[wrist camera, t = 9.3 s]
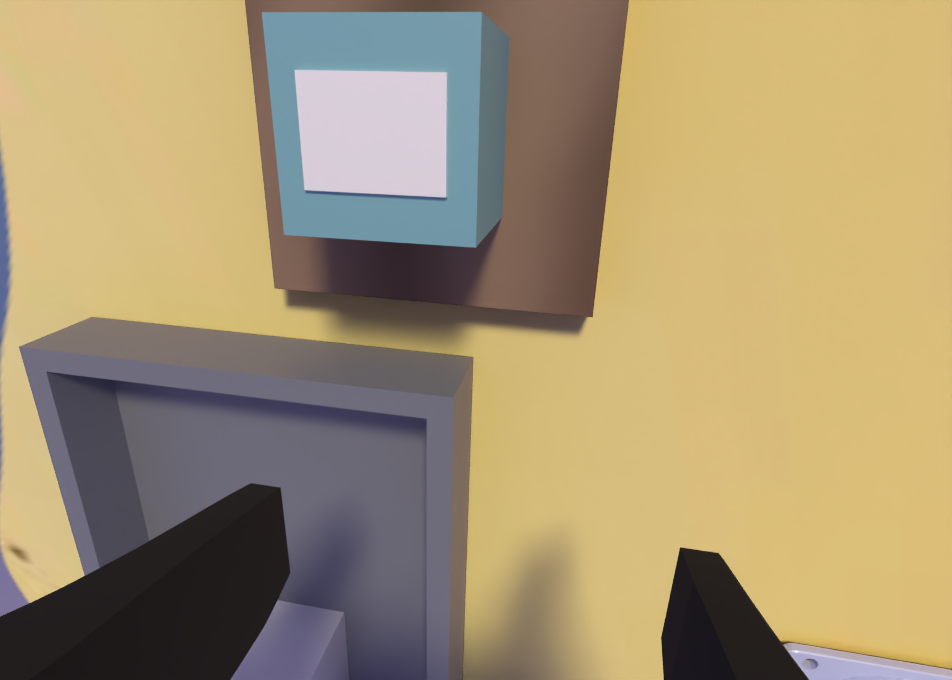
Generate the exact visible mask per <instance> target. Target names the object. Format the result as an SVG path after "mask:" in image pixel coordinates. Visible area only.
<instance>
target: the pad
mask: <svg viewBox="0 0 952 680" xmlns="http://www.w3.org/2000/svg"><path fill="white" fill-rule="evenodd" d="M628 3H629V0H245V5H246V15H247V25H248V35H249V44H250V54H251V64H252V73H253V83H254V93H255V103H256V112H257V122H258V132H259V141H260V151H261V161H262V171H263V180H264V190H265V200H266V209H267V219H268V229H269V239H270V248H271V258H272V268H273V277H274V287H275V288H277V289H288V290H299V291H310V292H321V293H332V294H343V295H354V296H365V297H376V298H387V299H398V300H409V301H420V302H431V303H442V304H453V305H464V306H476V307H487V308H498V309H509V310H520V311H531V312H542V313H553V314H564V315H575V316H586V317H593V308H594V299H595V291H596V282H597V273H598V264H599V256H600V247H601V238H602V230H603V221H604V212H605V203H606V195H607V186H608V177H609V169H610V160H611V151H612V142H613V134H614V125H615V116H616V108H617V99H618V90H619V81H620V73H621V64H622V55H623V47H624V38H625V29H626V20H627V12H628ZM262 12H482V13H484V14H485V15H486V16H487V17H488V18H489V19H490V20H491V21H492V22H493V23H494V24H495V25H497V26H498V27H499V28H500V29H501V30H502V31H503V32H504V33H505V34H506V35H507V36H508V37H509V38H510V39H509V63H508V87H507V111H506V135H505V159H504V184H503V208H502V218H501V219H500V220H499V221H498V223H497V224H496V225H495V226H494V227H493V228H492V230H491V231H490V232H489V233H488V234H487V235H486V237H485V238H484V239H483V240H482V241H481V242H480V243H479V245H478V246H477V247H476V248H474V247H459V246H443V245H428V244H413V243H398V242H383V241H368V240H353V239H338V238H323V237H308V236H293V235H284V229H283V219H282V209H281V199H280V189H279V179H278V169H277V159H276V149H275V139H274V129H273V119H272V109H271V99H270V89H269V79H268V69H267V59H266V49H265V39H264V29H263V19H262Z"/></svg>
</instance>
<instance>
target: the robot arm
mask: <svg viewBox="0 0 952 680" xmlns="http://www.w3.org/2000/svg"><path fill="white" fill-rule="evenodd" d="M289 575H290V564H289V555H288V547H287V538H286V529H285V520H284V512H283V503H282V494H281V488H280V487H274V486H267V485H260V484H254V483H250V484H248V485H246V486H244V487H243V488H241V489H239V490H237V491H235V492H233V493H231V494H230V495H228V496H226V497H224V498H223V499H221V500H219V501H217V502H216V503H214V504H212V505H210V506H209V507H207V508H205V509H204V510H202V511H200V512H198V513H197V514H195V515H193V516H192V517H190V518H188V519H186V520H185V521H183V522H181V523H180V524H178V525H176V526H174V527H173V528H171V529H169V530H167V531H166V532H164V533H162V534H160V535H159V536H157V537H155V538H154V539H152V540H150V541H148V542H147V543H145V544H143V545H141V546H140V547H138V548H136V549H134V550H132V551H130V552H129V553H127V554H125V555H123V556H121V557H119V558H117V559H116V560H114V561H112V562H110V563H108V564H106V565H104V566H102V567H101V568H99V569H97V570H95V571H93V572H91V573H89V574H87V575H86V576H84V577H82V578H80V579H78V580H76V581H74V582H72V583H70V584H68V585H66V586H64V587H62V588H60V589H58V590H56V591H54V592H52V593H50V594H48V595H46V596H44V597H42V598H40V599H38V600H36V601H34V602H32V603H29V604H27V605H25V606H23V607H21V608H18V609H16V610H14V611H12V612H10V613H7V614H5V615H3V616H1V617H0V680H231V678H232V677H233V675H234V674H235V672H236V670H237V669H238V667H239V666H240V664H241V663H242V661H243V659H244V658H245V656H246V655H247V653H248V652H249V650H250V648H251V647H252V645H253V644H254V642H255V641H256V639H257V637H258V636H259V634H260V633H261V631H262V629H263V628H264V626H265V624H266V622H267V620H268V618H269V617H270V615H271V613H272V611H273V609H274V607H275V605H276V603H277V601H278V598H279V596H280V594H281V592H282V590H283V588H284V586H285V583H286V581H287V579H288V577H289ZM661 640H662V656H663V673H664V680H952V670H950V669H944V668H938V667H932V666H926V665H921V664H915V663H909V662H903V661H897V660H891V659H885V658H879V657H874V656H868V655H862V654H856V653H850V652H844V651H838V650H833V649H827V648H821V647H815V646H809V645H803V644H797V643H787V644H784V645H783V644H782V643H781V642H780V640H779V639H778V637H777V636H776V635H775V633H774V632H773V630H772V629H771V628H770V626H769V625H768V623H767V622H766V621H765V619H764V618H763V616H762V615H761V613H760V612H759V611H758V609H757V608H756V606H755V605H754V603H753V602H752V601H751V599H750V598H749V596H748V595H747V593H746V592H745V590H744V589H743V587H742V586H741V584H740V583H739V582H738V580H737V579H736V577H735V576H734V574H733V573H732V571H731V570H730V568H729V567H728V565H727V564H726V562H725V561H724V559H723V558H722V557H721V556H720V554H719V553H714V552H707V551H700V550H694V549H687V548H680V551H679V555H678V560H677V565H676V570H675V575H674V579H673V584H672V589H671V594H670V599H669V603H668V608H667V613H666V618H665V623H664V627H663V632H662V637H661ZM806 659H810V660H806Z"/></svg>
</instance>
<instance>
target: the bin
mask: <svg viewBox="0 0 952 680" xmlns="http://www.w3.org/2000/svg"><path fill="white" fill-rule="evenodd" d="M19 348H20V352H21V355H22V359H23V362H24V366H25V369H26V373H27V376H28V380H29V383H30V387H31V390H32V394H33V397H34V401H35V404H36V408H37V411H38V415H39V418H40V421H41V425H42V428H43V432H44V435H45V439H46V442H47V446H48V449H49V453H50V456H51V460H52V463H53V467H54V470H55V474H56V477H57V481H58V484H59V488H60V491H61V494H62V498H63V501H64V505H65V508H66V512H67V515H68V519H69V522H70V526H71V529H72V533H73V536H74V540H75V543H76V547H77V550H78V554H79V557H80V561H81V564H82V567H83V571H84V574H85V576H86V575H87V574H89V573H91V572H93V571H95V570H97V569H99V568H101V567H102V566H104V565H106V564H108V563H110V562H112V561H114V560H116V559H117V558H119V557H121V556H123V555H125V554H127V553H129V552H130V551H132V550H134V549H136V548H138V547H140V546H141V545H143V544H145V543H147V542H148V541H150V540H152V539H154V538H155V537H157V536H159V535H160V534H162V533H164V532H166V531H167V530H169V529H171V528H173V527H174V526H176V525H178V524H180V523H181V522H183V521H185V520H186V519H188V518H190V517H192V516H193V515H195V514H197V513H198V512H200V511H202V510H204V509H205V508H207V507H209V506H210V505H212V504H214V503H216V502H217V501H219V500H221V499H223V498H224V497H226V496H228V495H230V494H231V493H233V492H235V491H237V490H239V489H241V488H243V487H244V486H246V485H248V484H250V483H254V484H260V485H267V486H274V487H280V488H281V494H282V503H283V512H284V520H285V529H286V538H287V547H288V555H289V564H290V575H289V577H288V579H287V581H286V583H285V586H284V588H283V590H282V592H281V594H280V596H279V598H278V600H280V601H285V602H291V603H296V604H302V605H307V606H312V607H318V608H323V609H329V610H334V611H340V612H344V616H345V630H346V644H347V658H348V672H349V680H463V652H464V622H465V592H466V562H467V532H468V502H469V472H470V442H471V412H472V382H473V357H467V356H458V355H448V354H439V353H429V352H419V351H410V350H400V349H391V348H381V347H372V346H362V345H353V344H343V343H334V342H324V341H315V340H305V339H296V338H286V337H277V336H267V335H257V334H248V333H238V332H229V331H219V330H210V329H200V328H191V327H181V326H172V325H162V324H153V323H143V322H134V321H124V320H114V319H105V318H95V317H91V318H89V319H86V320H84V321H81V322H79V323H76V324H74V325H71V326H69V327H67V328H64V329H62V330H59V331H57V332H54V333H52V334H49V335H47V336H44V337H42V338H40V339H37V340H35V341H32V342H30V343H27V344H25V345H22V346H20V347H19Z"/></svg>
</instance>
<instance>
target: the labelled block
mask: <svg viewBox="0 0 952 680" xmlns="http://www.w3.org/2000/svg"><path fill="white" fill-rule="evenodd" d="M262 19H263V29H264V39H265V49H266V59H267V69H268V79H269V89H270V99H271V109H272V119H273V129H274V139H275V149H276V159H277V169H278V179H279V189H280V199H281V209H282V219H283V229H284V235H293V236H308V237H323V238H338V239H353V240H368V241H383V242H398V243H413V244H428V245H443V246H459V247H474V248H476V247H477V246H478V245H479V243H480V242H481V241H482V240H483V239H484V238H485V237H486V235H487V234H488V233H489V232H490V231H491V230H492V228H493V227H494V226H495V225H496V224H497V223H498V221H499V220H500V219H501V218H502V208H503V184H504V159H505V135H506V111H507V87H508V63H509V39H510V38H509V37H508V36H507V35H506V34H505V33H504V32H503V31H502V30H501V29H500V28H499V27H498V26H497V25H495V24H494V23H493V22H492V21H491V20H490V19H489V18H488V17H487V16H486V15H485V14H484V13H482V12H262Z"/></svg>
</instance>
